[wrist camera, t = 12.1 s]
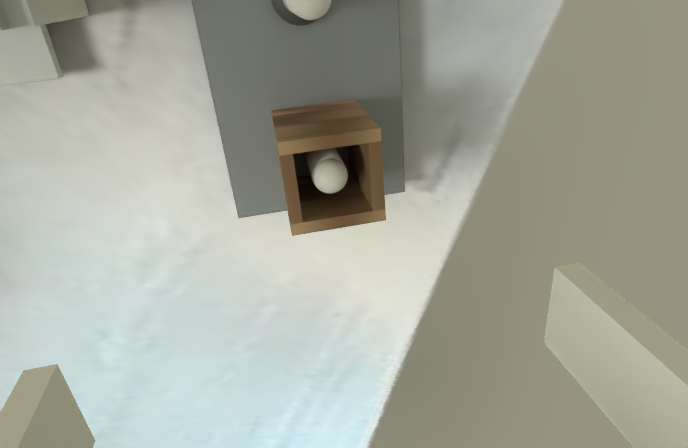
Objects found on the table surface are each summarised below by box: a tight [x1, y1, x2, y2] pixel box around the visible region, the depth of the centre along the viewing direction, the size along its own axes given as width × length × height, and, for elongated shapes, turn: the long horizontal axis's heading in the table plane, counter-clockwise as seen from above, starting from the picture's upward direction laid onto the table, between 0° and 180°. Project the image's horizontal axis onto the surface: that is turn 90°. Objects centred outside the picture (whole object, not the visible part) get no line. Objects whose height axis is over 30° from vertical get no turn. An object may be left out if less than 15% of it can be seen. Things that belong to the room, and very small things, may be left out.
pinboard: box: [192, 0, 405, 218], centre depth 27 cm, size 12×18×8 cm, turn 5°
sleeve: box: [271, 100, 386, 236], centre depth 29 cm, size 5×5×7 cm
